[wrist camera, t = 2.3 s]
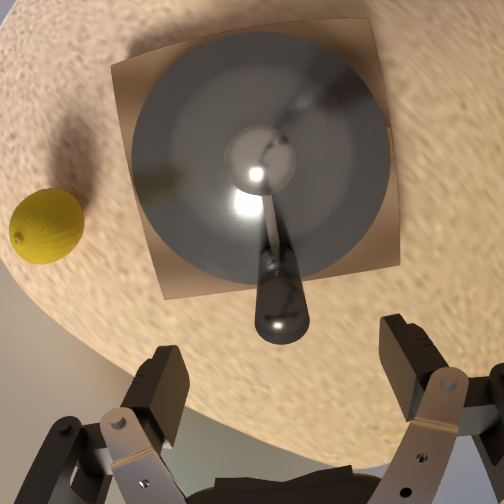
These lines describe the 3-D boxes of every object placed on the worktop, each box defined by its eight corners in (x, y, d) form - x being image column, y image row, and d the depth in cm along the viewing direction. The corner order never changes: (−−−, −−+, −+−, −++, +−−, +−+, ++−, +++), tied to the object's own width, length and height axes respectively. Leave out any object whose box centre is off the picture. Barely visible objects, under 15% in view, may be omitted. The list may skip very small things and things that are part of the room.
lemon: (107, 237, 25) (55, 276, 18) (59, 246, 26) (5, 283, 18) (92, 173, 23) (31, 192, 16) (44, 188, 24) (-17, 210, 16)
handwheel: (122, 72, 18) (48, 47, 10) (359, 29, 16) (409, -23, 8) (171, 288, 23) (130, 361, 15) (389, 256, 22) (443, 318, 13)
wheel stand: (124, 71, 20) (109, 65, 18) (358, 28, 18) (368, 18, 16) (172, 285, 26) (164, 300, 24) (389, 253, 24) (400, 265, 22)
